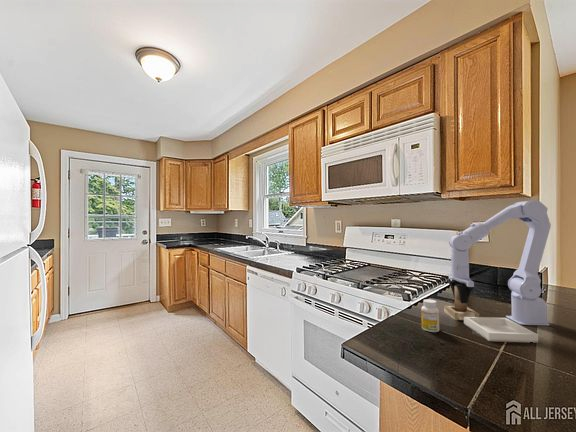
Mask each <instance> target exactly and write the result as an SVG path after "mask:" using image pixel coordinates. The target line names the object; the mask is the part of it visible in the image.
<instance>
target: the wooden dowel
mask: <svg viewBox="0 0 576 432" xmlns="http://www.w3.org/2000/svg"><path fill="white" fill-rule="evenodd" d="M454 287H455V299H454V306H455V310H457V311H460V312H467V307H468V302H467V303H461V302H460V297H459V291H458V289H457V286H454Z"/></svg>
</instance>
